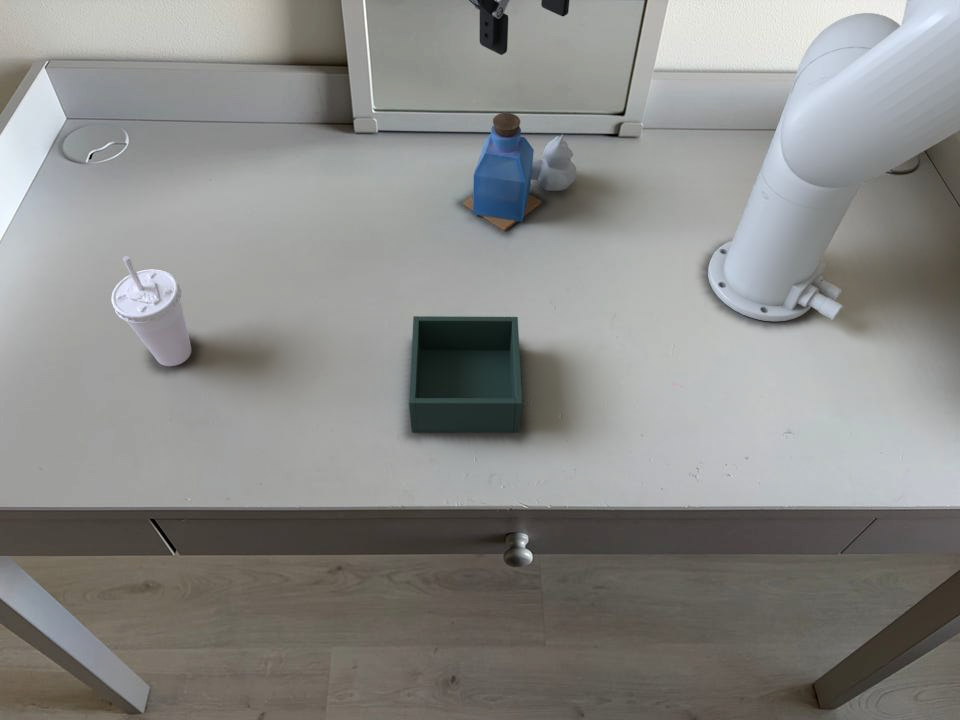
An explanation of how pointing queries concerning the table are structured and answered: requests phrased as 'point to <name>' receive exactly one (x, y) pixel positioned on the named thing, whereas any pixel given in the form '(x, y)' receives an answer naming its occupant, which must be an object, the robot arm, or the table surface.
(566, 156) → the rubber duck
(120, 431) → the table surface
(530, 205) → the mat
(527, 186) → the perfume bottle
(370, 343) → the table surface
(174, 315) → the smoothie
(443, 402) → the bin
